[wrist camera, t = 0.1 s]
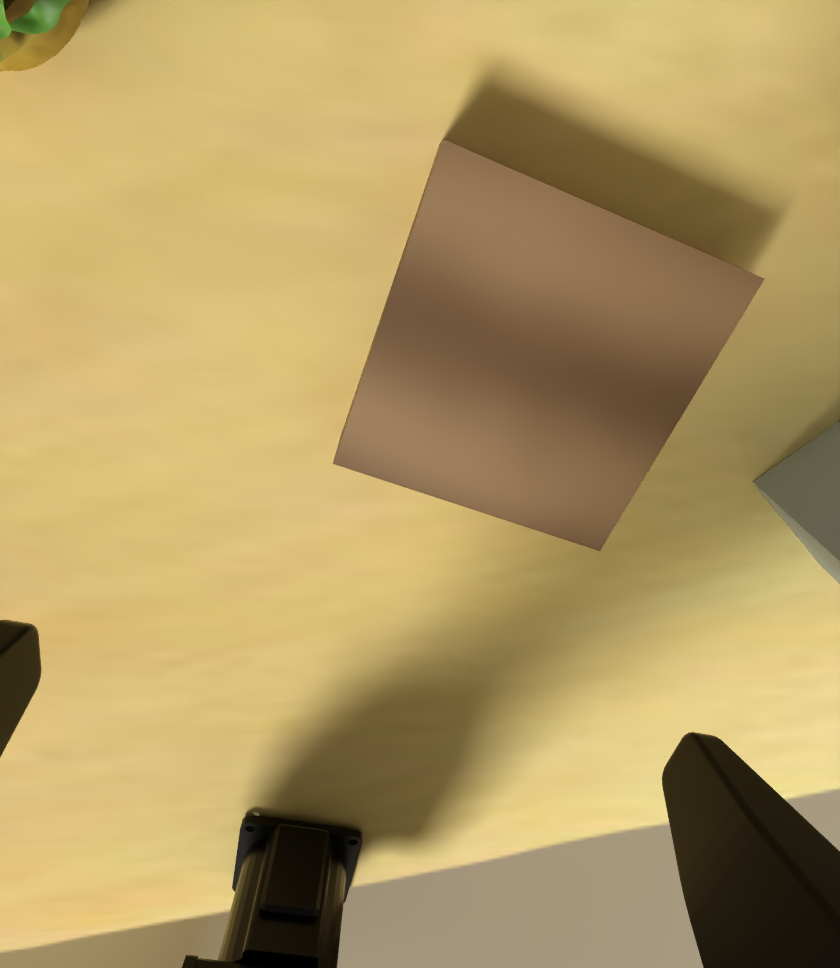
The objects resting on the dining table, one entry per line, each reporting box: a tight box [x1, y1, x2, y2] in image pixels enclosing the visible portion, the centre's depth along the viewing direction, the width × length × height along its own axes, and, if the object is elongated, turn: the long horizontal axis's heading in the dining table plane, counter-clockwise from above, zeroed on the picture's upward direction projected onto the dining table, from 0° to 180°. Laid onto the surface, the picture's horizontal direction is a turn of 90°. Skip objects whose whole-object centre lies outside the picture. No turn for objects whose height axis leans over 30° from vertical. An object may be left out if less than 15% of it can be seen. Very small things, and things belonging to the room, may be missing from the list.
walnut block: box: [333, 139, 764, 551], centre depth 20 cm, size 10×10×3 cm
